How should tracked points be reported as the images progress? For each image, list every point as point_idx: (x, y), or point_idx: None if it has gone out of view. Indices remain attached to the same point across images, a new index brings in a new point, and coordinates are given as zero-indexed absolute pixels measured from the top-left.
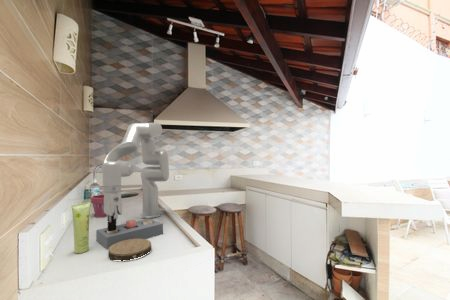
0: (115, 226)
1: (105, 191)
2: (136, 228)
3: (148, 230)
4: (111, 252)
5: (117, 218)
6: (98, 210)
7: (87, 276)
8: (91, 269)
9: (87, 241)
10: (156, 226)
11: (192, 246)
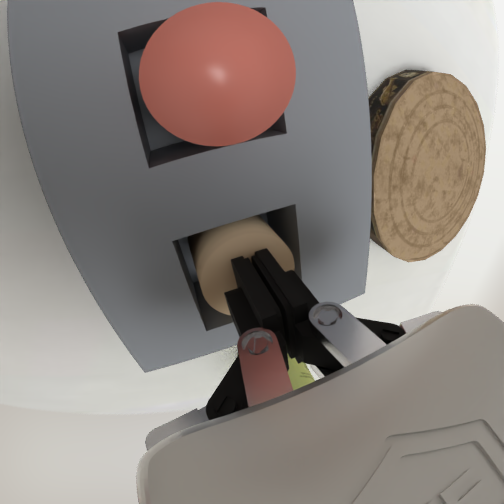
0: (280, 271)
1: None
2: (317, 51)
3: None
4: (439, 250)
5: (437, 313)
6: None
7: (440, 286)
8: (424, 285)
9: (300, 363)
10: None
11: None
